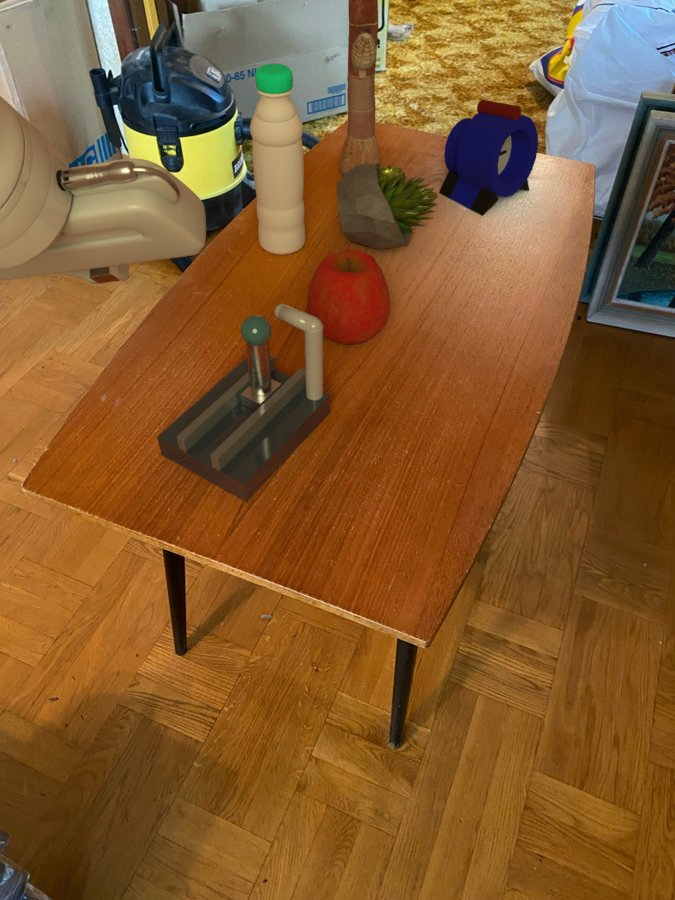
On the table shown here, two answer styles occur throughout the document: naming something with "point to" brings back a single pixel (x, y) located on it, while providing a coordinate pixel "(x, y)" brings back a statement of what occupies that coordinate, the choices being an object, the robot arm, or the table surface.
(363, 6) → the brown carved wooden post
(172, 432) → the tap base
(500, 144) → the alarm clock
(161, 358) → the table surface
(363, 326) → the apple
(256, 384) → the tap handle
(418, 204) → the potted plant
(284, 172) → the water bottle
